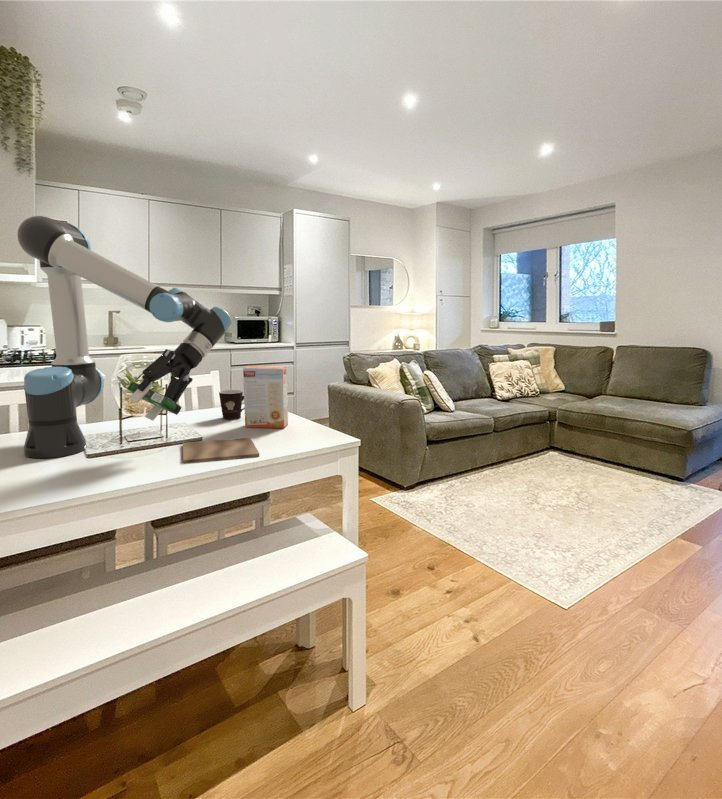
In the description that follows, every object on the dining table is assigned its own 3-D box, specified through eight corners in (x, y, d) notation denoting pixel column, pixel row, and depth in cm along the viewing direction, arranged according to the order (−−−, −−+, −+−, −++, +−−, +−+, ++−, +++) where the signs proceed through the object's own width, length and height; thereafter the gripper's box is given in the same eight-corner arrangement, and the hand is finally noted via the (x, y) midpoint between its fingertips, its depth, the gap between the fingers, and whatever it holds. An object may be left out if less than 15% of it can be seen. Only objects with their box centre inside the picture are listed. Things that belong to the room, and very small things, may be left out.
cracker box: (288, 424, 176) (287, 366, 173) (284, 429, 170) (283, 368, 167) (250, 423, 178) (248, 365, 174) (244, 427, 172) (242, 367, 168)
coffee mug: (215, 419, 183) (214, 392, 182) (228, 414, 191) (227, 389, 190) (243, 421, 180) (242, 394, 178) (254, 417, 188) (254, 391, 186)
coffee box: (166, 395, 132) (131, 380, 137) (160, 404, 131) (125, 389, 136) (182, 406, 139) (149, 391, 144) (177, 415, 138) (143, 400, 143)
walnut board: (183, 463, 132) (183, 460, 132) (182, 445, 149) (182, 442, 149) (259, 456, 139) (259, 453, 139) (250, 440, 156) (250, 437, 156)
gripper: (187, 329, 136) (131, 392, 126) (215, 375, 153) (168, 434, 143) (167, 322, 139) (110, 383, 129) (197, 368, 156) (149, 425, 146)
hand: (141, 410), depth 136 cm, fingers closed on coffee box, 8 cm apart
